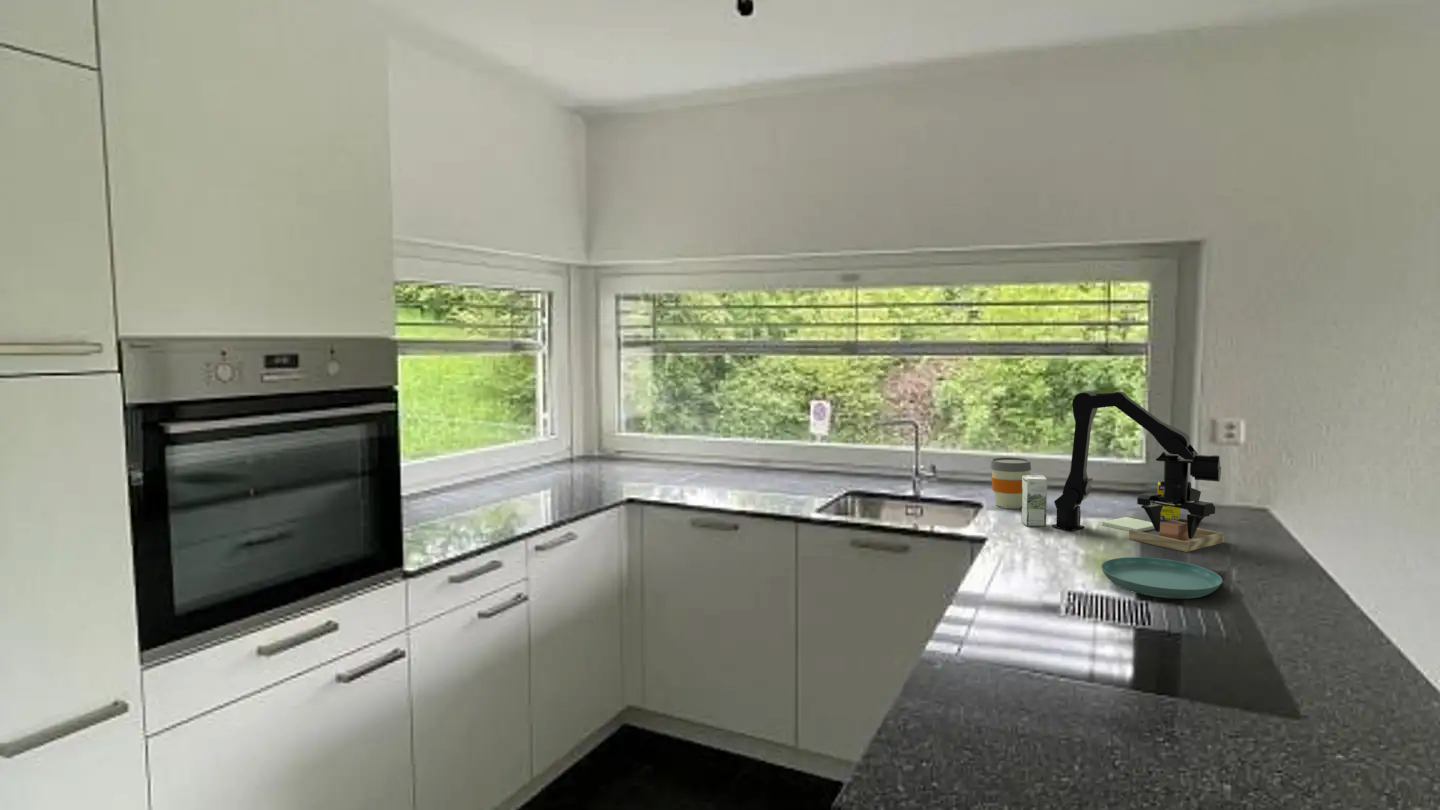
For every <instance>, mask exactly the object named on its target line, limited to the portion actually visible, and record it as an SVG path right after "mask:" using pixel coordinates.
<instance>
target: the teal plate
mask: <svg viewBox="0 0 1440 810" xmlns="http://www.w3.org/2000/svg"><path fill="white" fill-rule="evenodd" d="M1100 567H1101V570H1102V572H1103V574H1104V575H1105V577H1107V579H1108V580H1109V581H1111V582H1112V583H1113V584H1114V585H1115V586H1117V587H1119V588H1121V589H1123V590H1125V589H1126V590H1125V591H1128V590H1129V592H1131V591H1133V592H1132V593H1135V592H1136V593H1135V594H1138V593H1140V594H1139V595H1143V594H1144V596H1148V595H1149V597H1155V598H1161V597H1162V599H1175V600H1178V599H1179V600H1180V599H1181V600H1182V599H1183V600H1184V599H1186V600H1187V599H1196V598H1202V597H1206V596H1209V595H1210V594H1212V593H1214V592H1215V591H1216V590H1218V588H1220V586H1222V583H1223V578H1222V577H1221V575H1219V574H1218V573H1217V572H1215V571H1213V570H1210V569H1209V568H1206V567H1202V566H1201V565H1200V566H1199V565H1197V564H1192V563H1188V562H1185V561H1179V560H1174V559H1173V560H1172V559H1165V558H1159V557H1158V558H1157V557H1156V558H1155V557H1145V556H1144V557H1143V556H1142V557H1141V556H1140V557H1139V556H1138V557H1136V556H1131V557H1130V556H1129V557H1116V558H1112V559H1108V560H1105V561H1103V562H1102V563H1101V565H1100Z"/></svg>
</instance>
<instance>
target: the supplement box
mask: <svg viewBox="0 0 1440 810" xmlns="http://www.w3.org/2000/svg"><path fill="white" fill-rule="evenodd" d="M1161 482H1162V481H1158V482H1157V494H1161V495H1162V496H1163V486H1161ZM1169 503H1172V502H1169ZM1159 505H1160V504H1159ZM1178 505H1180V504H1178ZM1180 510H1181V508H1177V507H1171V506H1166V505H1163V507H1162V510H1161V518H1160V522H1163V521H1168V520H1175V521H1180Z"/></svg>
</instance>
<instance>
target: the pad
mask: <svg viewBox="0 0 1440 810" xmlns="http://www.w3.org/2000/svg"><path fill="white" fill-rule="evenodd" d="M1101 524H1102V525H1101V526H1105V527H1107V528H1108V527H1109V528H1113V529H1118V530H1123V531H1126V532H1129V530H1136V531H1140V532H1147V531H1151V530H1155V528H1154V526H1153V524H1152V522H1151V521H1147V520H1142V519H1138V518H1137V519H1136V518H1133V517H1128V516H1127V517H1126V516H1125V517H1120V518H1115V519H1110V520H1105V521H1102V522H1101Z"/></svg>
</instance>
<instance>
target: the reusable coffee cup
mask: <svg viewBox="0 0 1440 810" xmlns="http://www.w3.org/2000/svg"><path fill="white" fill-rule="evenodd" d="M1031 465H1032V464H1031V460H1030V459H1027V458H1021V457H1010V456H1009V457H995V458H991V460H990V469H991V474H992V475H991V479H990V480H991V487H992V492H993V493H994V499H995V500H994V501H995V506H996V505H998V506H1001V507H1000V508H1002V507H1007V508H1006V509H1021V508H1020V507H1022V476H1023V475H1030V472H1031V470H1032V466H1031ZM998 506H997V507H998Z"/></svg>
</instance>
